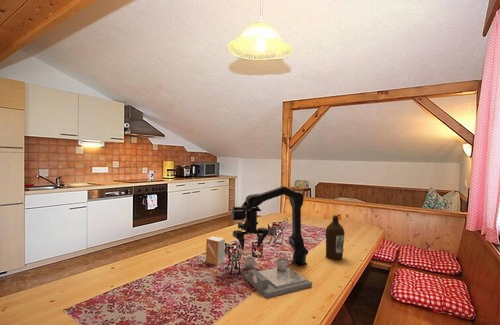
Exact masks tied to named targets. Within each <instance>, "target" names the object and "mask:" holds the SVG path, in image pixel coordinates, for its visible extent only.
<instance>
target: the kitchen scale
mask: <svg viewBox="0 0 500 325" xmlns="http://www.w3.org/2000/svg"><path fill="white" fill-rule="evenodd" d="M244 279H245V280H246V281H247V282H248V283H249V284H250V285H252V287H254V288H255V289H256V290H257V291H258V292H259V293H260V294H261V295H263V297H265V298H266V299H268V298H273V297H276V296H280V295H284V294H288V293H292V292H296V291H300V290H301V291H302V290H304V289H308V288H311V287H313V282H312V281H311V280H309V279H308V278H306V277H305V276H303V275H301V274H299V273H298V272H296V271H295V270H293V269H292V268H290V267H288V266H287V271H286V272H280V271H278V270H277V267H275V268H269V269H263V270H257V269H256V268H254V269H252V270H248V273H245V274H244Z"/></svg>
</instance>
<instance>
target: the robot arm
mask: <svg viewBox="0 0 500 325" xmlns="http://www.w3.org/2000/svg"><path fill="white" fill-rule="evenodd" d="M282 195H284V196H286V197H288V199H289V203H290V206H291V215H292V216H291V217H292V218H291V223H292V224H291V225H292V229H291V230H292V231H291V232H292V234H291V236H290V235H289V236H288V244H289V246H290V247H291V248H292V250H293V251H294V252H293V255H292V260H291V263H292V264H293V265H296V266H298V267H303V266H306V265H307V266H308V263H307V255H308V253H309V250H308V249H307V248H306V247H305V242H304V238H303V236H302V206H303V204H304V199H305V198H304V195H303V193H301V192H299V191H295V190H292V189H290V188H289V187H287V186H284V185H281V186H279V187H276V188H274V189H271V190H268V191H265V192H263V193H262V192H261V193H255V194H249V195H246V197H245V201H243V203H242V205H241V206H232V210H231V214H230V215H231V221H240V222H238V223H237V229H239V230H237V229H236V230H233V232H232V237H234V238H235V239H236V240H238V242H239V244H240V248H241V251H244V249H245V242H246V240H245V236H251V235H252V236H253V235H257V236H256V237H257V244H256V245H257V248H256V249H260V248H261V245H262V244H263V242H264V240H265V238H267V236H269V234H270V231H269V229H268V228H265V227H258V228H257V225H259V222H258V212H262V209H260V207H259V206H260V205H261V204H263V203H264V202H266V201H268V200H272V199H274V198H277V197H280V196H282ZM242 221H244V222H242Z"/></svg>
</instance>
